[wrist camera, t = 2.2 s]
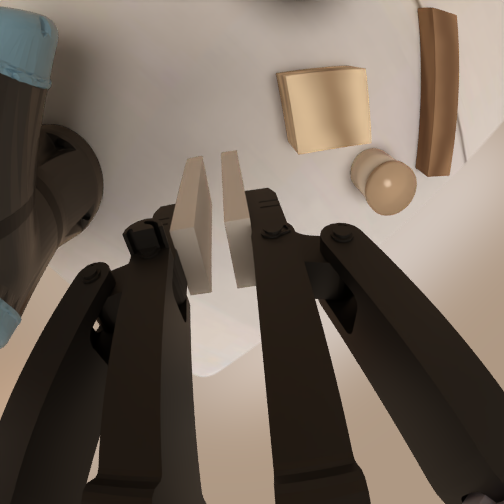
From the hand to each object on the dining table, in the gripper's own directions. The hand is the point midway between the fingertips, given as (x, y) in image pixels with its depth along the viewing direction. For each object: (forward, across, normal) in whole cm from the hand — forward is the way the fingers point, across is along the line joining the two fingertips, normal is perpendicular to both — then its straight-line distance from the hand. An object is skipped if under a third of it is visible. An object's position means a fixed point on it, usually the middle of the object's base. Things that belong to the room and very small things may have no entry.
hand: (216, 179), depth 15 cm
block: (+19, +11, 0) cm, 22 cm away
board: (+18, +27, +2) cm, 33 cm away
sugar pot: (+19, +18, -9) cm, 27 cm away
